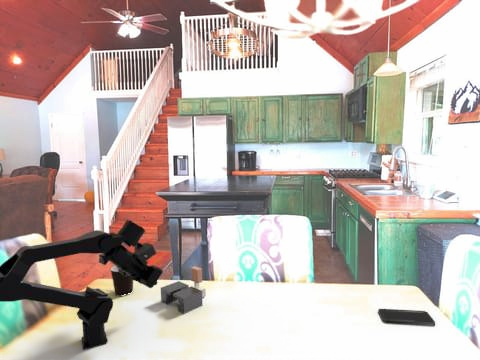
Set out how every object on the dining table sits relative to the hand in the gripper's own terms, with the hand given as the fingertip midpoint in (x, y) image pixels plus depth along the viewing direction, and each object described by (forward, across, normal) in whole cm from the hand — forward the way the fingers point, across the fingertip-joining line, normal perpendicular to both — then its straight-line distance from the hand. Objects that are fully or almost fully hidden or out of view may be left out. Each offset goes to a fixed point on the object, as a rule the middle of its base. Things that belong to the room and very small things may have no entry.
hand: (156, 283), depth 111 cm
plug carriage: (+17, 0, -3) cm, 18 cm away
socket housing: (+14, 0, 0) cm, 14 cm away
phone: (+43, -62, -28) cm, 81 cm away
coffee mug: (+9, +26, +6) cm, 28 cm away
